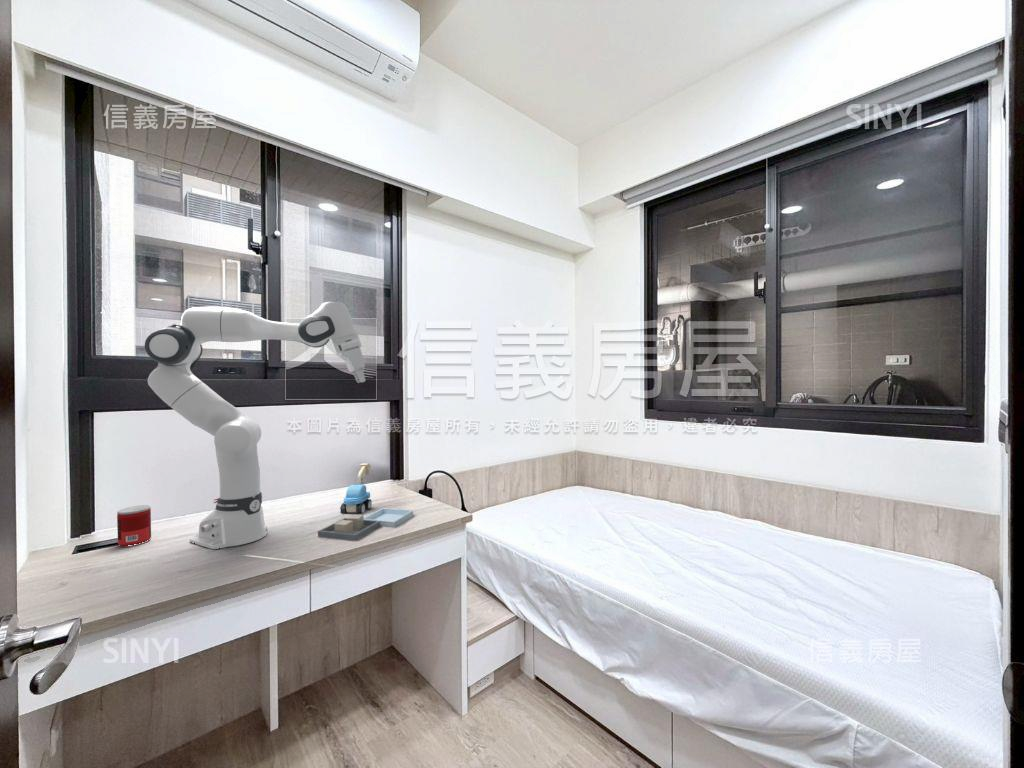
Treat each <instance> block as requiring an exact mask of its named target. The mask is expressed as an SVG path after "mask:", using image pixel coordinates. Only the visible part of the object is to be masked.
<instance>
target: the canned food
mask: <svg viewBox="0 0 1024 768" xmlns="http://www.w3.org/2000/svg"><path fill="white" fill-rule="evenodd" d="M151 507H152V506H151V505H148V504H144V505H143V504H142V505H141V504H140V505H133V506H129V507H124V508H121V509H119V510H117V515H116V519H117V521H116V522H117V524H116V525H117V544H118V546H119V545H120V546H128V545H134V544H139V543H142V542H145V541H147V540H149V539H150V538H152V518H151V517H152V515H151V514H152V511H151V510H152V508H151ZM150 540H151V539H150ZM150 540H149V541H150ZM120 546H119V547H120Z"/></svg>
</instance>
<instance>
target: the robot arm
mask: <svg viewBox="0 0 1024 768" xmlns="http://www.w3.org/2000/svg"><path fill="white" fill-rule="evenodd" d="M266 340H275V341H276V340H277V341H288V342H289V341H291V342H297V343H298V342H299V343H302V344H303V345H306V346H308V347H311V348H315V349H317V348H322V347H325V346H326V345H327V344H328V343H329V342H330V340H331V341H332V343H333V347H334V349H335V352H336V354H337V355H339V354H341V357H342V358H344V361H345V364H346V368H347V370H348V372H349V373H352V375H353V376H354V379H355V381H356V383H358V384H360V383H364V382H366V377H365V373H364V368H365V366H366V364H365V360H364V357H363V356H364V355H363V353H362V349H361V348H362V347H363V345H362V343H361V340H360V337H359V334H358V332H357V331H356V330H355V326H354V321H353V319H352V315H351V314H350V310H349V309H348V307H347V306H346V304H345V303H343V302H342V301H339V300H338V301H336V300H331V301H330V300H329V301H326V302H323V303H321V305H319V308H317V309H316V310H315V311H314V312H313V313H311V314H310V315H308V316H306V317H305V318H303V319H302V320H301V321H300V322H299V323H293V322H291V323H290V322H283V321H282V322H281V321H273V320H268V319H266V318H263V317H261V316H259V315H256V314H254V313H253V312H250V311H248V310H243V309H238V308H232V307H223V306H199V307H198V306H197V307H190V308H188V309H186V310H185V311H184V312H183V314H182V315H181V320H180V324H178V323H174V324H171V325H169V326H165V327H164V328H160V329H157V330H155V331H153V332H151V333H150V334H149V335H148V336H147V337H146V339H145V341H144V349H145V353H146V354H147V355H148V357H150V359H152V360H153V361H155V362H157V366H156V367H155V368H154V369H153V370H152V371H151V372H150V374H149V375H148V378H147V384H148V386H149V387H150V389H151V390H152V391H153V392H154V393H155V394H156V396H158V397H159V398H160V399H161V400H162V402H164V403H165V404H166V405H167V406H168V407H170V408H171V409H173V410H174V411H175V412H176V413H178V415H180V416H181V417H182V418H183V419H185V420H186V421H188V422H189V423H190V424H192V425H194V426H195V427H197V428H199V429H201V430H203V431H204V432H207V433H208V434H209V435H211V436H213V437H214V438H213V439H214V441H213V442H214V446H215V447H214V448H215V449H214V450H215V455H216V463H217V467H218V473H219V474H218V475H219V497H218V498H216V499H213V501H214V502H213V504H216V506H215V509H214V510H213V511H212V512H210V513H209V514H208V515H207V516H206V517H204V518H203V519H202V520H201V521H200V523H199V527H198V534H195V535H194V536H192V537H190V539H189V543H191V542H192V543H191V544H194V543H195V544H194V545H198V546H202V547H204V548H207V549H211V550H219V548H220V549H223V548H224V549H225V548H228V547H235V546H241V545H246V544H249V543H252V542H255V541H259V540H261V539H263V538H265V536H267V533H268V532H267V529H268V526H267V525H266V523H265V516H264V509H263V506H262V502H263V493H262V492H261V469H260V463H259V455H258V443H259V442H260V440H261V437H262V429H261V426H260V425H259V423H257V422H256V421H255V420H254V419H252V418H251V417H250V416H248V415H247V414H246V413H244V412H243V411H241V410H240V409H239V408H237V407H235V406H234V405H233V404H231V403H230V402H228V400H225V399H224V398H223V397H222V396H221V395H219V394H218V393H217V392H216V391H214V390H213V389H212V388H210V387H209V386H208V385H207V384H206V383H204V382H203V381H202V380H200V378H198V377H197V376H196V375H195V374H193V372H192V371H191V370H193V369H194V367H195V365H196V364H197V363H198V362H199V360H200V359H201V356H202V355H203V345H202V344H204V343H208V342H209V343H210V342H219V343H220V342H221V343H245V342H254V341H266Z"/></svg>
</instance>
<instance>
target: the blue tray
mask: <svg viewBox="0 0 1024 768" xmlns="http://www.w3.org/2000/svg"><path fill="white" fill-rule="evenodd" d="M413 516H414V510H413V509H411V510H410V509H399V508H387V507H381V508H380V509H378V510H376V511H374V512H372V513H370V514H368V515H366V516H364V520H372V521H380V527H384V528H386V527H387V528H396V527H397V526H399V525H401V524H402V523H404V522H405V521H407V520H408V519H410V518H412V517H413Z"/></svg>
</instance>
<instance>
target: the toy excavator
mask: <svg viewBox="0 0 1024 768" xmlns="http://www.w3.org/2000/svg"><path fill="white" fill-rule="evenodd" d="M371 472H372V471H371V464H370V463H367V462H365V463H360V470H359V471H358V473H357V484H351V485H349V486H348V487H347V489H346V493H345V497H344V498H343V503H341V504H340V506H339V507H340V508H339V510H340V511H339V512H340V514H347V513H350V514H351V513H356V515H363V513H364V512H365V511H366V510H369V511H370V510H371V509H372V507H373V505H372V503H373V502H372V499H370V498H371V492H368V491H367V486H366V485H365V484H364V476H365V475H366V476H367V475H370V474H371Z"/></svg>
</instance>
